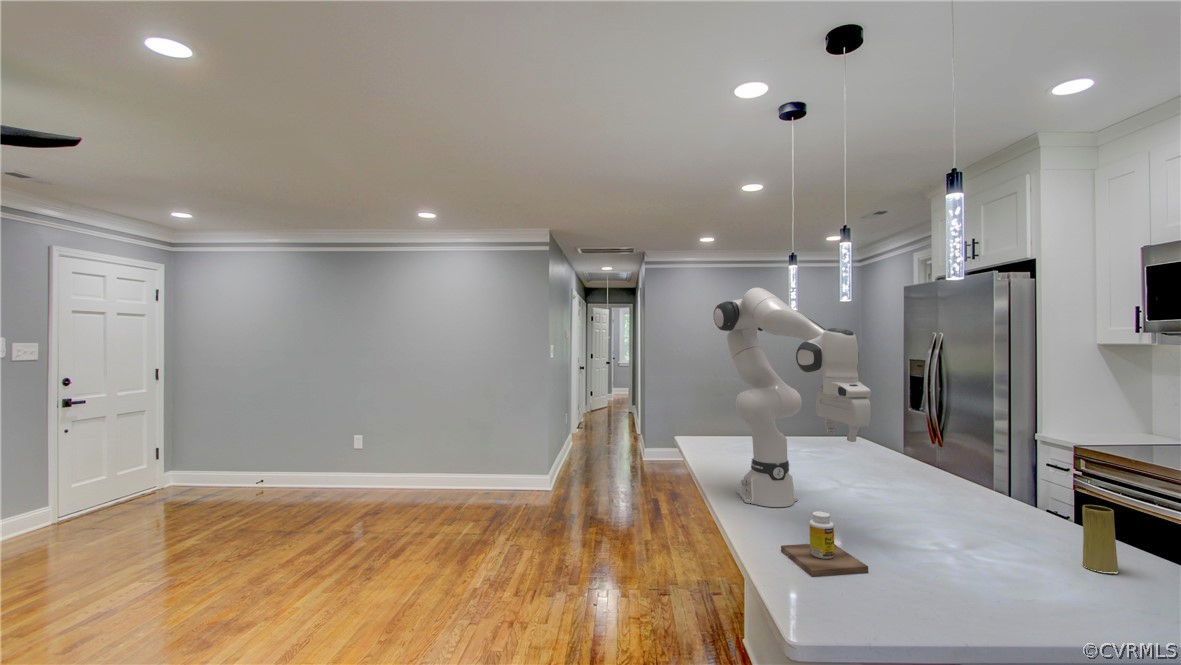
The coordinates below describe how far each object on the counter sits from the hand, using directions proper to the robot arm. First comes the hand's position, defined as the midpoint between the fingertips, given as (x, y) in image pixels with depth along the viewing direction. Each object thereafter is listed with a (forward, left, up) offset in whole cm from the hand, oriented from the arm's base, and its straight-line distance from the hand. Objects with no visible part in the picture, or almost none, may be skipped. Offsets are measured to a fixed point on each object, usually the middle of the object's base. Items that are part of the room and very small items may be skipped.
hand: (841, 437), depth 142 cm
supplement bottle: (+12, -13, -27) cm, 32 cm away
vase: (+26, +48, -28) cm, 61 cm away
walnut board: (+12, -13, -28) cm, 33 cm away
